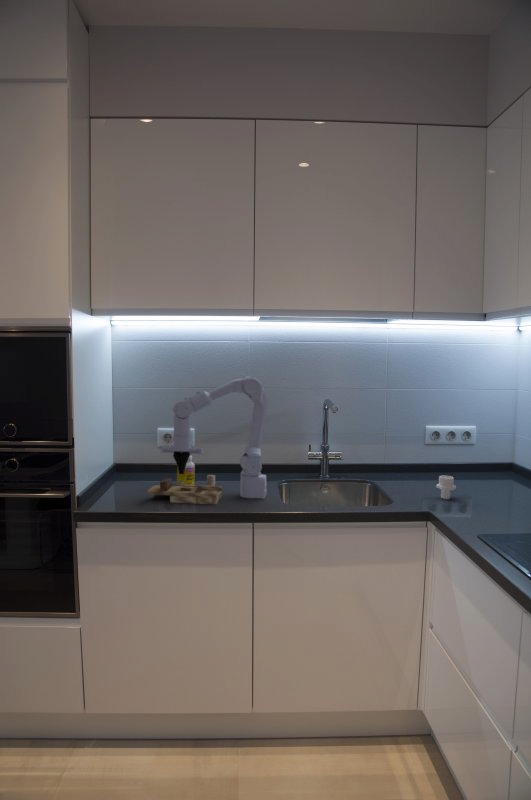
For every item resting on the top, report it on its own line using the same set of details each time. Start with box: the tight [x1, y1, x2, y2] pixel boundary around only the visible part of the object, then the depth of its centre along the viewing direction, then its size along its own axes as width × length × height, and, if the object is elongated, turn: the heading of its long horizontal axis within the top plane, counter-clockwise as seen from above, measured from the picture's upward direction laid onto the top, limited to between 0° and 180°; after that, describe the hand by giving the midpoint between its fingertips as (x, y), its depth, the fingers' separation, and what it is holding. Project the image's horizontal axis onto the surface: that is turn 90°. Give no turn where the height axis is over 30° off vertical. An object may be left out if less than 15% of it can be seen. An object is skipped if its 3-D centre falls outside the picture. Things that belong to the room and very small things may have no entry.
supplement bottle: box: [176, 454, 196, 486], centre depth 209 cm, size 7×7×13 cm
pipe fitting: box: [435, 475, 457, 500], centre depth 204 cm, size 6×7×8 cm
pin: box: [206, 474, 216, 486], centre depth 203 cm, size 3×3×7 cm
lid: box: [146, 478, 198, 496], centre depth 193 cm, size 16×9×4 cm, turn 85°
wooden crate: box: [169, 484, 223, 505], centre depth 192 cm, size 16×11×4 cm
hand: (181, 473), depth 192 cm, fingers closed
